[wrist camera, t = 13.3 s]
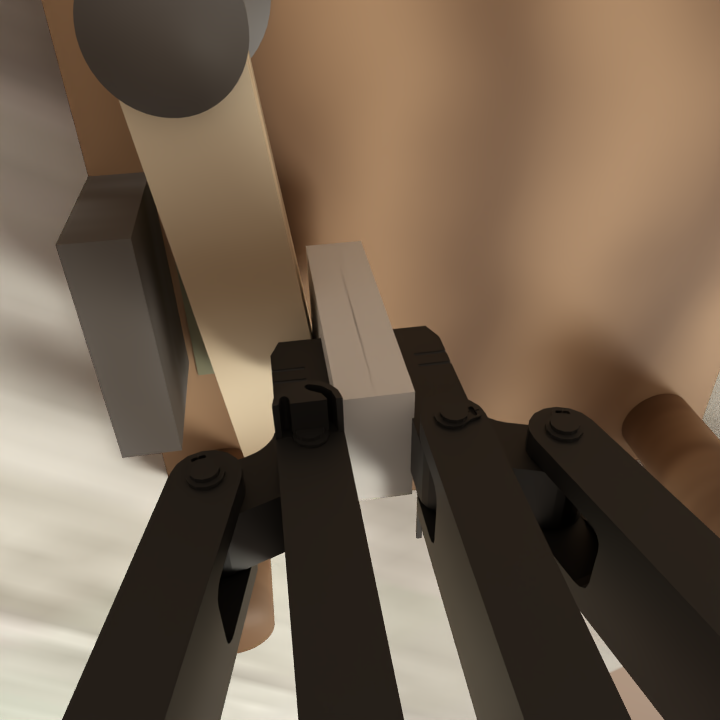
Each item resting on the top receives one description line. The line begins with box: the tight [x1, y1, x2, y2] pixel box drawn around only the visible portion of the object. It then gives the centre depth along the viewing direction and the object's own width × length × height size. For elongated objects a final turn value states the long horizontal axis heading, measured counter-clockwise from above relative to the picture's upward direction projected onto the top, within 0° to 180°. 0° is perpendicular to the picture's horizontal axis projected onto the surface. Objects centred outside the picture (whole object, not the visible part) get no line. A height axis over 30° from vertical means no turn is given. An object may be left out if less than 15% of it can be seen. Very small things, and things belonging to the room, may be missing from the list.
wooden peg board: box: [42, 0, 720, 653], centre depth 18 cm, size 20×20×8 cm
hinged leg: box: [73, 0, 314, 457], centre depth 16 cm, size 12×3×5 cm, turn 8°
